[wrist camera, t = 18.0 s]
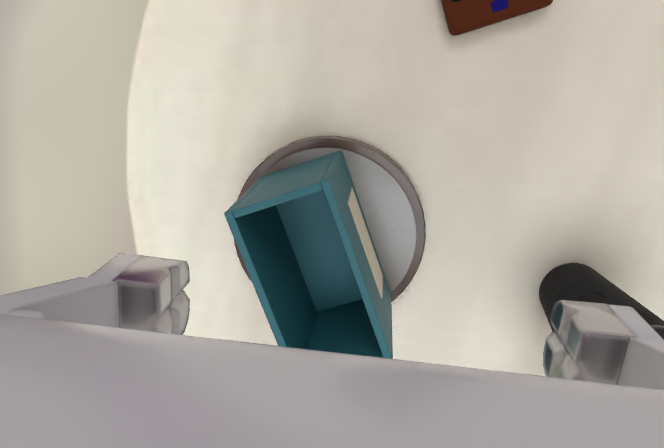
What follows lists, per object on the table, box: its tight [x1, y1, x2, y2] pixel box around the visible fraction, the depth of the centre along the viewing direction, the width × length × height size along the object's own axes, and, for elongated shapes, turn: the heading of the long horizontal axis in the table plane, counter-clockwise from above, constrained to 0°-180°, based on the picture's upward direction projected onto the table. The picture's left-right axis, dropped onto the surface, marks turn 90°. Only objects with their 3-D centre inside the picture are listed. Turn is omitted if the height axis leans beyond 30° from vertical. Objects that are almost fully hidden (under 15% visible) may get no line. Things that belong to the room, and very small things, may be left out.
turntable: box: [234, 136, 425, 302], centre depth 44 cm, size 15×15×2 cm
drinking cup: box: [539, 263, 664, 340], centre depth 35 cm, size 8×8×20 cm
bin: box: [224, 150, 393, 359], centre depth 38 cm, size 7×12×10 cm, turn 19°
